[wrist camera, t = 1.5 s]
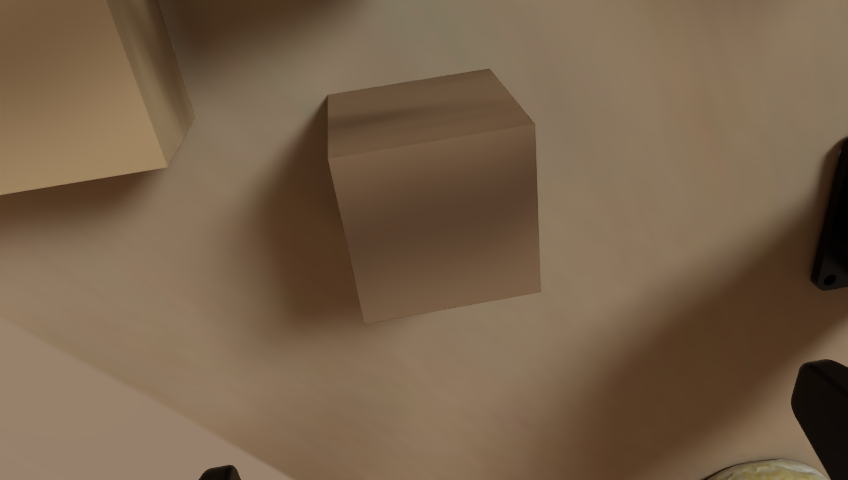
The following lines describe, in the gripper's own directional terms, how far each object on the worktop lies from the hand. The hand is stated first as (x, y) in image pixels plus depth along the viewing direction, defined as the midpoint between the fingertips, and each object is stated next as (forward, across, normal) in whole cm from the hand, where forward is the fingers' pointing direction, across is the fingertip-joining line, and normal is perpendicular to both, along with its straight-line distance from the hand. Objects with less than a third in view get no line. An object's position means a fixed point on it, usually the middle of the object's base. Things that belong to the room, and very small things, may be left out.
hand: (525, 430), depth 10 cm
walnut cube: (+12, 0, 0) cm, 12 cm away
